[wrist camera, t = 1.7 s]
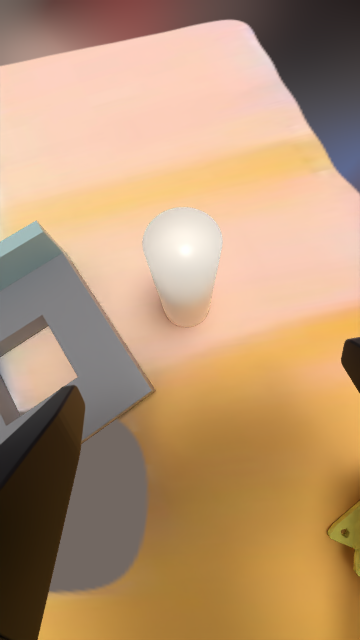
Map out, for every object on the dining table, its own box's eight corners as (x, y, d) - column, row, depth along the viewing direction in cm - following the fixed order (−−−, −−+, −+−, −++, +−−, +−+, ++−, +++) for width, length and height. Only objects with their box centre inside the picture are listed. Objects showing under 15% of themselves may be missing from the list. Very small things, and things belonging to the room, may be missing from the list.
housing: (155, 390, 21) (144, 390, 16) (-2, 503, 19) (-67, 541, 14) (66, 254, 24) (36, 220, 20) (-71, 339, 23) (-142, 325, 18)
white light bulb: (198, 334, 22) (203, 289, 12) (156, 316, 22) (129, 260, 13) (216, 293, 23) (234, 221, 13) (175, 277, 23) (162, 197, 14)
